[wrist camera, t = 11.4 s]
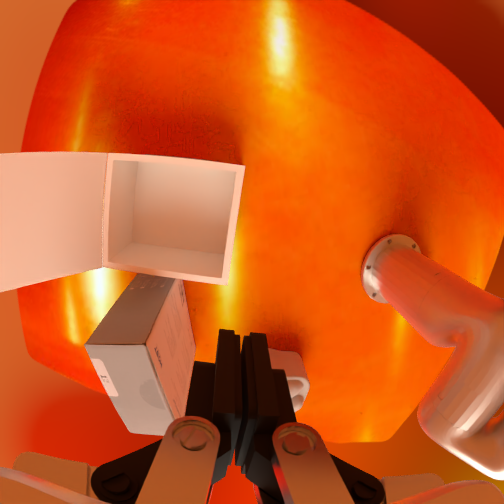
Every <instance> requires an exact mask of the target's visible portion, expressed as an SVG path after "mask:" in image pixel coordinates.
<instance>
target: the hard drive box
mask: <svg viewBox="0 0 504 504" xmlns="http://www.w3.org/2000/svg"><path fill="white" fill-rule="evenodd" d="M84 345H85V348H86V350H87V352H88V354H89V357H90V359H91V361H92V363H93V366H94V368H95V370H96V372H97V374H98V376H99V378H100V380H101V382H102V384H103V386H104V388H105V390H106V392H107V394H108V395H109V397H110V399H111V400H112V402H113V404H114V406H115V408H116V409H117V411H118V413H119V415H120V416H121V418H122V420H123V421H124V423H125V425H126V426H127V428H128V430H129V431H130V432H131V433H139V434H151V435H165V432H166V430H167V428H168V426H169V425H170V423H171V422H173V421H174V420H176V419H177V418H180V417H183V416H185V410H186V403H187V397H188V391H189V385H190V379H191V373H192V368H193V362H194V356H195V350H196V346H195V342H194V337H193V332H192V328H191V323H190V317H189V312H188V307H187V302H186V296H185V290H184V285H183V280H182V279H176V278H169V277H163V276H156V275H149V274H143V273H138V274H137V275H136V276H135V278H134V279H133V280H132V282H131V283H130V284H129V285H128V287H127V288H126V289H125V291H124V292H123V293H122V294H121V296H120V297H119V298H118V300H117V301H116V302H115V304H114V305H113V306H112V308H111V309H110V310H109V312H108V313H107V314H106V316H105V317H104V318H103V320H102V321H101V323H100V324H99V325H98V327H97V328H96V330H95V331H94V332H93V334H92V335H91V337H90V338H89V339H88V341H87V342H86V343H85V344H84Z"/></svg>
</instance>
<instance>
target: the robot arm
mask: <svg viewBox="0 0 504 504" xmlns="http://www.w3.org/2000/svg"><path fill="white" fill-rule="evenodd" d="M361 281H362V285H363V288H364V290H365V291H366V293H367V294H368V295H369V296H370V297H371V298H372V299H373V300H375V301H377V302H380V303H390V304H391V305H392V306H393V307H394V308H395V309H396V310H397V311H398V312H399V313H400V314H401V315H402V316H403V317H404V318H405V319H406V320H407V321H408V322H409V323H410V324H411V326H412V327H413V328H414V329H415V330H416V331H417V332H418V333H419V334H420V335H421V336H422V337H423V338H424V339H425V340H426V341H428V342H429V343H430V344H432V345H435V346H438V347H454V346H456V348H455V350H454V352H453V353H452V355H451V357H450V359H449V361H448V362H447V364H446V365H445V367H444V368H443V370H442V371H441V373H440V374H439V376H438V377H437V379H436V380H435V381H434V383H433V384H432V386H431V387H430V388H429V390H428V391H427V393H426V394H425V395H424V397H423V398H422V400H421V402H420V404H419V407H418V413H417V416H418V420H419V423H420V425H421V427H422V429H423V430H424V431H425V433H426V434H427V435H428V436H429V437H430V438H431V439H433V440H434V441H435V442H436V443H438V444H439V445H441V446H442V447H443V448H445V449H447V450H448V451H449V452H451V453H452V454H454V455H456V456H457V457H458V458H460V459H461V460H463V461H465V462H466V463H468V464H469V465H471V466H472V467H474V468H476V469H477V470H479V471H480V472H482V473H483V474H485V475H487V476H489V477H491V478H494V479H497V480H504V410H503V411H502V412H501V414H500V415H499V416H498V417H495V418H493V417H492V416H493V415H494V414H495V413H496V411H497V410H498V409H499V407H500V406H501V405H502V404H503V402H504V299H502V298H499V297H497V296H495V295H492V294H490V293H488V292H486V291H484V290H482V289H480V288H479V287H477V286H475V285H473V284H472V283H470V282H468V281H467V280H465V279H463V278H462V277H460V276H458V275H457V274H455V273H453V272H452V271H450V270H448V269H447V268H445V267H443V266H442V265H440V264H438V263H437V262H435V261H433V260H431V259H430V258H428V257H426V256H424V255H422V254H421V251H420V248H419V246H418V244H417V243H416V242H415V241H414V240H413V239H412V238H410V237H408V236H406V235H403V234H391V235H387V236H385V237H383V238H381V239H380V240H379V241H377V242H376V243H375V244H374V245H373V246H372V247H371V249H370V250H369V251H368V253H367V255H366V257H365V259H364V262H363V265H362V270H361ZM234 449H235V465H236V466H241V473H242V474H246V478H247V479H249V480H250V481H251V482H253V484H254V491H255V495H256V499H257V502H258V504H504V495H503V494H502V492H501V491H500V490H499V489H498V488H497V487H496V486H495V485H493V484H492V483H490V482H487V481H481V480H466V481H459V482H454V483H450V484H446V485H445V484H444V482H443V480H442V479H441V478H440V477H439V476H438V475H435V474H431V473H427V474H418V475H406V476H392V477H391V476H390V477H383V478H382V479H377V478H375V477H374V476H372V475H370V474H368V473H366V472H364V471H362V470H360V469H358V468H356V467H354V466H352V465H350V464H348V463H346V462H344V461H343V460H341V459H339V458H337V457H335V456H333V455H332V454H330V453H329V452H328V450H327V448H326V446H325V444H324V442H323V440H322V438H321V436H320V435H319V433H318V432H317V431H316V430H315V429H313V428H312V427H310V426H308V425H306V424H303V423H298V422H297V421H296V416H295V412H294V408H293V403H292V399H291V395H290V390H289V386H288V382H287V377H286V373H285V370H284V369H272V367H271V361H270V355H269V350H268V344H267V338H266V334H263V333H253V332H250V335H249V336H244V338H243V344H242V350H241V354H240V335H235V334H234V330H225V329H219V336H218V345H217V353H216V362H215V363H207V362H200V361H194V366H193V371H192V377H191V382H190V388H189V394H188V400H187V406H186V412H185V416H183V417H180V418H177V419H176V420H174V421H173V422H171V423H170V425H169V426H168V428H167V430H166V432H165V435H164V437H163V439H161V440H159V441H157V442H155V443H153V444H150V445H148V446H146V447H144V448H142V449H139V450H137V451H135V452H132V453H130V454H128V455H125V456H123V457H121V458H118V459H116V460H113V461H111V462H108V463H105V464H103V465H101V466H100V467H93V466H89V465H88V464H87V463H83V462H76V461H71V460H65V459H60V458H55V457H51V456H46V455H42V454H38V453H34V452H25V453H21V454H20V455H19V456H18V457H16V460H15V462H14V466H13V469H9V468H4V467H0V504H209V501H210V497H211V492H212V488H213V484H214V483H216V482H218V481H219V480H221V479H222V478H223V477H225V475H226V471H227V466H228V465H231V462H232V458H233V453H234Z"/></svg>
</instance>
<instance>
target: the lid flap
mask: <svg viewBox="0 0 504 504" xmlns="http://www.w3.org/2000/svg"><path fill="white" fill-rule="evenodd" d="M107 154H108V153H99V152H25V153H6V154H0V292H3V291H7V290H11V289H15V288H19V287H23V286H27V285H31V284H35V283H39V282H43V281H47V280H52V279H56V278H60V277H64V276H68V275H72V274H76V273H81V272H85V271H89V270H93V269H98V268H102V216H103V197H104V183H105V172H106V163H107Z"/></svg>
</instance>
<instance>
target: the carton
mask: <svg viewBox="0 0 504 504" xmlns="http://www.w3.org/2000/svg"><path fill="white" fill-rule="evenodd" d="M244 171H245V166H243V165H236V164H229V163H221V162H213V161H211V160H203V159H194V158H185V157H174V156H163V155H150V154H145V155H140V154H123V153H108V160H107V169H106V180H105V192H104V209H103V267H106V268H112V269H118V270H124V271H130V272H137V273H143V274H149V275H156V276H163V277H169V278H176V279H183V280H190V281H197V282H205V283H212V284H220V285H228V279H229V271H230V264H231V257H232V250H233V243H234V236H235V230H236V223H237V216H238V210H239V203H240V196H241V190H242V184H243V177H244Z"/></svg>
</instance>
